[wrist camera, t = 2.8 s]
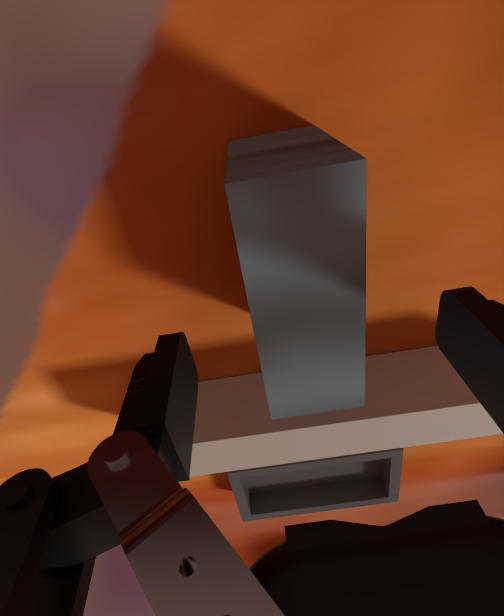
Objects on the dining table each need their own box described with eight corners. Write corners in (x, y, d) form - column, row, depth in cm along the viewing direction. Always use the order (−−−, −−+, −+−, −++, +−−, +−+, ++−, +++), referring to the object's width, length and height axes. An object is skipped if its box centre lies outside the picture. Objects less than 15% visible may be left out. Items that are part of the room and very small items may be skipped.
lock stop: (227, 140, 17) (224, 184, 10) (313, 124, 17) (366, 158, 10) (260, 315, 22) (271, 419, 16) (325, 305, 22) (365, 406, 15)
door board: (481, 338, 24) (534, 395, 20) (473, 372, 26) (521, 431, 21) (127, 392, 25) (105, 456, 21) (141, 421, 27) (124, 485, 23)
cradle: (391, 422, 28) (403, 449, 26) (387, 474, 32) (398, 501, 30) (227, 445, 29) (226, 473, 27) (242, 493, 32) (243, 521, 30)
